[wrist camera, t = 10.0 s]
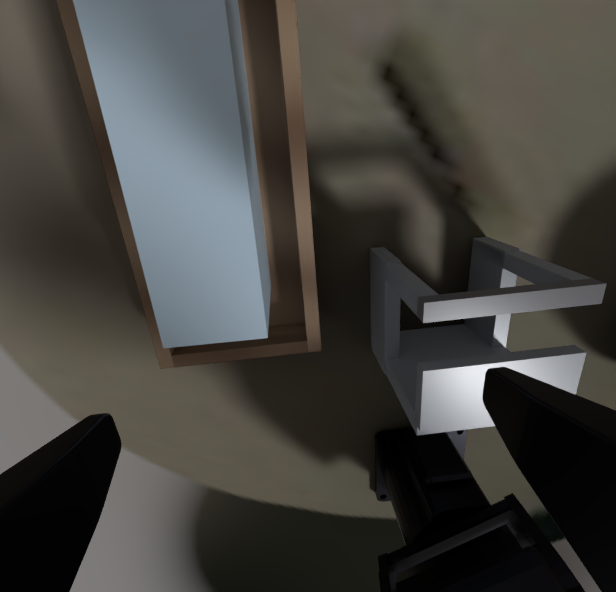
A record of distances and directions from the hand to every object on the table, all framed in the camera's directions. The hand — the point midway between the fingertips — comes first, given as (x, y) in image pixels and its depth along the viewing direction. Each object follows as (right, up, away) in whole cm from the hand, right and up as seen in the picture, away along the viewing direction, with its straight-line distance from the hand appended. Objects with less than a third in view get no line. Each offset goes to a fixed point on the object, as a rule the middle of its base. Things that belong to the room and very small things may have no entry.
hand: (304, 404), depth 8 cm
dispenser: (+7, +2, +13) cm, 15 cm away
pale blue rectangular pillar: (-4, +9, +8) cm, 13 cm away
